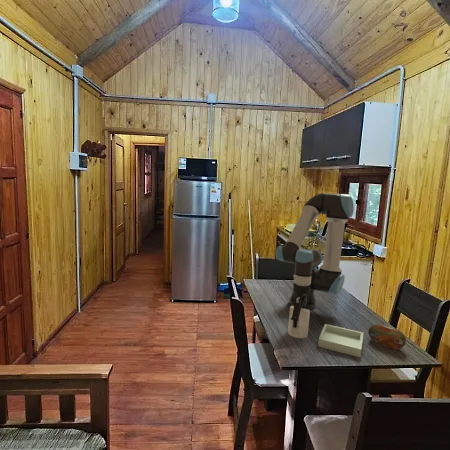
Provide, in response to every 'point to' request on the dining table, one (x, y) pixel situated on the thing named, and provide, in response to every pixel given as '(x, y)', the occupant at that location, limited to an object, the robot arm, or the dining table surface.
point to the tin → (387, 336)
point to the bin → (341, 340)
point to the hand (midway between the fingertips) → (298, 327)
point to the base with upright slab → (300, 323)
